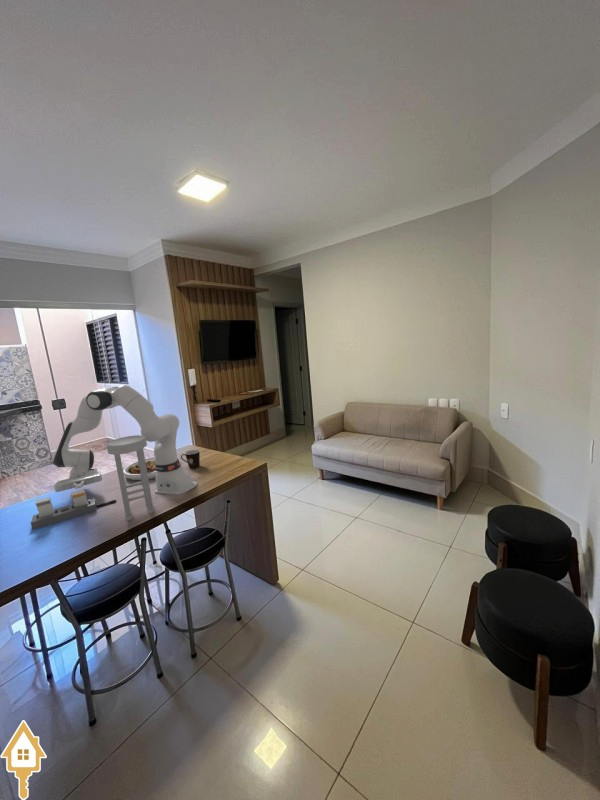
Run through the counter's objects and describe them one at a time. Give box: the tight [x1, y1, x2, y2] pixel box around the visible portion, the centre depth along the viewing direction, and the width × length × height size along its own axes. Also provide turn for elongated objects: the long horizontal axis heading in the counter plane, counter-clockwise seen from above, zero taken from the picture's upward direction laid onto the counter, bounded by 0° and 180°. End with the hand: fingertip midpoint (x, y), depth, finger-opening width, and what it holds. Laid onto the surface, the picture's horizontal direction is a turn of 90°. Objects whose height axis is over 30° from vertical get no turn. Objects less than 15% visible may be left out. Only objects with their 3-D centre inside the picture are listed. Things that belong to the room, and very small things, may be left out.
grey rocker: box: [35, 496, 54, 516], centre depth 142 cm, size 5×2×8 cm, turn 124°
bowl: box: [123, 456, 157, 481], centre depth 196 cm, size 30×30×8 cm
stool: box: [106, 434, 155, 521], centre depth 144 cm, size 16×16×35 cm
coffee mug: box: [180, 449, 201, 470], centre depth 199 cm, size 12×9×10 cm
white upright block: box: [71, 489, 88, 507], centre depth 148 cm, size 5×2×8 cm, turn 124°
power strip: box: [30, 497, 117, 531], centre depth 150 cm, size 33×8×5 cm, turn 124°
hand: (78, 486), depth 157 cm, fingers closed
